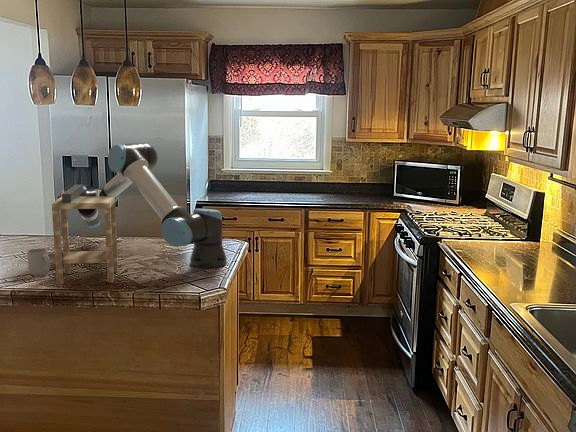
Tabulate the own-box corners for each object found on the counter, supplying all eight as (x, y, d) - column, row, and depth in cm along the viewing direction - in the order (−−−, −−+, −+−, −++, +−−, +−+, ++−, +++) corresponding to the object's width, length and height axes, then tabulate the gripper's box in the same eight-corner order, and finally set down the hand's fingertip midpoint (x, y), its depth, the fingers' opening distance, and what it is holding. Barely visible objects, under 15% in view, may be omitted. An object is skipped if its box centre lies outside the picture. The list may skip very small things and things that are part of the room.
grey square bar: (83, 191, 233) (83, 184, 233) (71, 202, 208) (70, 193, 208) (75, 191, 233) (75, 184, 232) (62, 202, 208) (61, 194, 207)
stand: (118, 270, 231) (114, 195, 225) (113, 282, 215) (109, 202, 210) (65, 272, 227) (60, 196, 222) (56, 284, 212) (51, 202, 206)
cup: (40, 269, 231) (39, 247, 230) (57, 272, 227) (56, 250, 225) (24, 273, 225) (23, 251, 223) (42, 277, 220) (40, 254, 219)
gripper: (117, 217, 255) (111, 200, 236) (57, 218, 251) (46, 201, 231) (117, 201, 258) (111, 183, 238) (58, 202, 253) (47, 184, 234)
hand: (79, 192), depth 235 cm, fingers open, 13 cm apart
